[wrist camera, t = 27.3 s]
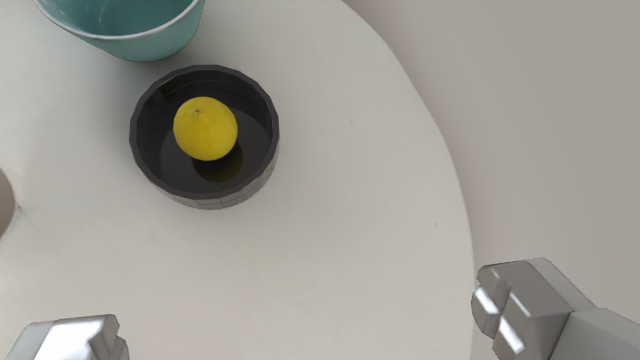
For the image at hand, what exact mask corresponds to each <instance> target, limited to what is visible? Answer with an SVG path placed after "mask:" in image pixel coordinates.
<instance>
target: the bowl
mask: <svg viewBox="0 0 640 360" xmlns="http://www.w3.org/2000/svg"><path fill="white" fill-rule="evenodd" d="M33 1H34V3H35V5H36V6H37V7H38V9H39V10H40V11H41V12H42V13H43V14H44V15H45V16H46V17H47V18H48V19H49V20H51V21H52V22H53V23H55V24H56V25H58V26H59V27H61V28H63V29H64V30H66V31H68V32H70V33H72V34H73V35H75V36H77V37H79V38H80V39H82V40H84V41H86V42H88V43H90V44H92V45H94V46H96V47H98V48H100V49H102V50H104V51H106V52H108V53H110V54H112V55H114V56H116V57H119V58H122V59H125V60H130V61H137V62H147V61H155V60H159V59H163V58H166V57H168V56H170V55H172V54H174V53H176V52H178V51H179V50H181V49H182V48H183V47H184V46H185V45H186V44H188V42H189V41H190V40H191V39H192V37H193V36H194V34H195V32H196V30H197V28H198V25H199V21H200V17H201V14H202V10H203V6H204V3H205V0H33Z"/></svg>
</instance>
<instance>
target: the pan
mask: <svg viewBox="0 0 640 360" xmlns="http://www.w3.org/2000/svg"><path fill="white" fill-rule="evenodd" d="M196 97H209V98H214V99H216V100H218V101H219V102H221V103H223V104H224V105H225V106H227V107H228V108H229V109H230V111H231V112H232V113H233V115H234V117H235V120H236V123H237V126H238V127H237V138H236V141H235V144H234V146H233V147H232V149H231V150H230V151H229V152H228V153H227V154H226V155H224V156H223V157H221V158H218V159H216V160H209V161H204V160H199V159H195V158H193V157H191V156H190V155H188V154H187V153H185V152H184V151H183V150H182V149H181V148H180V146H179V145H178V143H177V142H176V138H175V134H174V131H173V128H174V118H175V116H176V114H177V111H178V109H179V108H180V107H181V106H182V105H183V104H184V103H185V102H187V101H188V100H190V99H193V98H196ZM129 143H130V147H131V150H132V153H133V156H134V159H135V162H136V164H137V165H138V167H139V168H140V169H141V170H142V172H143V173H144V174H145V176H146V177H147V178H148V179H149V181H150V182H152V183H153V184H154V185H155V186H156V187H157V188H158V189H159V190H160V191H162V192H163V193H164V194H166V195H167V196H169V197H170V198H172V199H173V200H175V201H177V202H178V203H180V204H183V205H186V206H189V207H192V208H197V209H206V210H213V209H222V208H227V207H231V206H234V205H237V204H239V203H241V202H243V201H245V200H247V199H248V198H250V197H251V196H253V195H254V194H255V193H257V192H258V191H259V190H260V189H261V188H262V187H263V186H264V184H265V183H266V182H267V180H268V179H269V177H270V176H271V174H272V172H273V170H274V167H275V165H276V161H277V157H278V153H279V120H278V115H277V112H276V110H275V108H274V105H273V103H272V100H271V98H270V97H269V95H268V94H267V93H266V92H265V91H264V90H263V89H262V87H261V86H260V85H259V84H258V83H257V82H256V81H254V80H253V79H251V78H250V77H248V76H246V75H245V74H243V73H241V72H240V71H238V70H234V69H230V68H227V67H223V66H219V65H193V66H189V67H186V68H182V69H179V70H175V71H173V72H171V73H169V74H167V75H166V76H164V77H163V78H161V79H159V80H158V81H156V82H155V83H154V84H152V85H151V87H150V88H149V89H148V90H147V91H146V92H145V93H144V95H143V96H142V97H141V98H140V99H139V101H138V103H137V105H136V108H135V110H134V112H133V115H132V117H131V120H130V134H129Z"/></svg>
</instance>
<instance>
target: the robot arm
mask: <svg viewBox="0 0 640 360" xmlns="http://www.w3.org/2000/svg"><path fill="white" fill-rule="evenodd" d="M477 279H478V281H479V282H480V284H481V285H480V286H479V287H478V288H477V289H476V290H475V291H474V292H473V295H472V300H471V307H472V314H473V317H474V319H475V322H476V324H477V325H478V327H479V329H480V330H481V332H482V333H484V334H485V335H487V336H489V337H490V338H492V339H493V346H492V349H493V351H494V352H495V354H496V355H497V357H498V359H499V360H640V324H638V323H635V322H634V321H632V320H629V319H627V318H625V317H623V316H621V315H619V314H617V313H615V312H612V311H610V310H608V309H606V308H599V309H598V308H597V307H596V306H595V305H594V304H593V303H592V302H591V301H590V300H589V299H588V298H587V297H586V296H585V295H584V294H583V293H582V292H581V291H580V290H579V289H578V288H577V287H576V286H575V285H574V284H573V283H572V282H571V281H570V280H569V279H568V278H567V277H566V276H565V275H564V274H563V273H562V272H561V271H560V270H558V268H557V267H556V266H555V265H554V264H552V263H551V262H550V261H549V260H547V259H545V258H543V257H542V258H535V259H528V260H522V261H514V262H506V263H499V264H492V265H485V266H482V267H481V268H480V270H479V272H478V275H477ZM119 326H120V325H119V323H118V321H117V319H116V316H115V315H112V314H106V315H96V316H87V317H77V318H68V319H59V320H53V321H43V322H34V323H31V324H29V325H28V326H27V327H25V328H24V329H23V331H22V332H21V334H20V336H19V337H18V339H17V341H16V342H15V344H14V346H13V347H12V349H11V350H10V352H9V354H8V355H7V357H6V359H5V360H130V358H129V351H128V347H127V344H126V341H125V340H124V339H122V338H121V337H119V336H117V333H118V330H119Z"/></svg>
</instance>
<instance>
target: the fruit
mask: <svg viewBox="0 0 640 360" xmlns="http://www.w3.org/2000/svg"><path fill="white" fill-rule="evenodd" d="M237 127H238V126H237V123H236V120H235V117H234V115H233V113H232V112H231V111H230V109H229V108H228V107H227V106H225V105H224V104H223V103H221V102H219V101H218V100H216V99H214V98H209V97H196V98H193V99H190V100H188V101H187V102H185V103H184V104H183V105H182V106H181V107H180V108H179V109H178V111H177V114H176V116H175V118H174V128H173V131H174V134H175V138H176V142H177V143H178V145H179V146H180V148H181V149H182V150H183V151H184V152H185V153H187V154H188V155H190V156H191V157H193V158H195V159H199V160H204V161H209V160H216V159H218V158H221V157H223V156H224V155H226V154H227V153H228V152H229V151H230V150H231V149H232V147H233V146H234V144H235V141H236V138H237Z"/></svg>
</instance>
